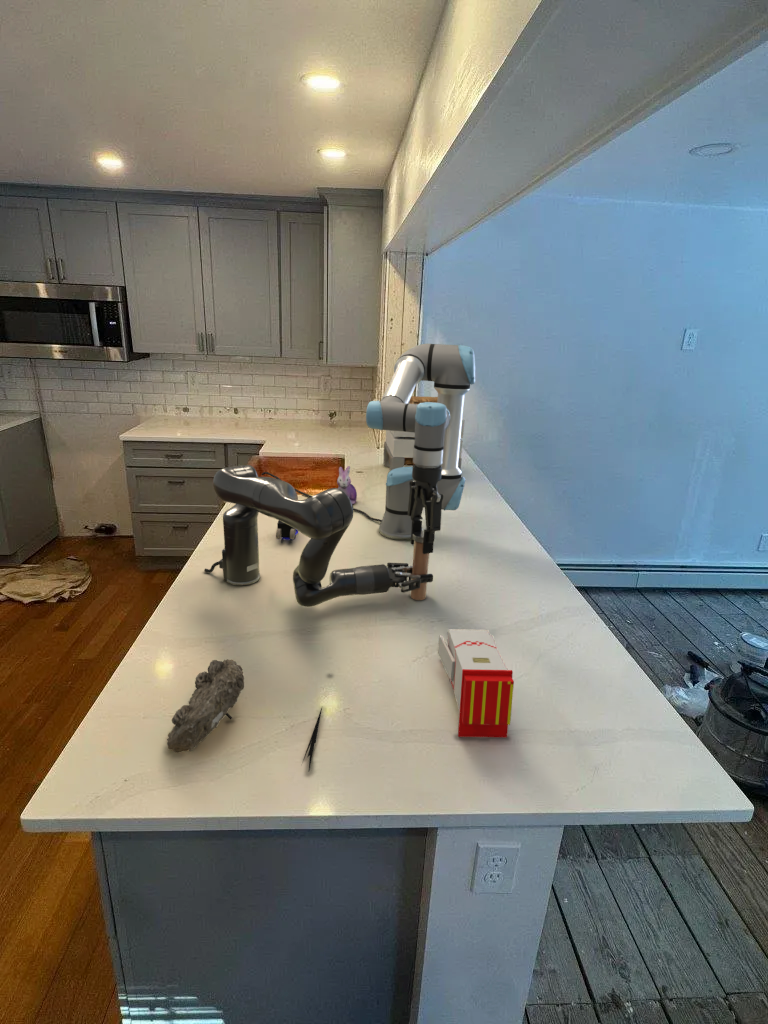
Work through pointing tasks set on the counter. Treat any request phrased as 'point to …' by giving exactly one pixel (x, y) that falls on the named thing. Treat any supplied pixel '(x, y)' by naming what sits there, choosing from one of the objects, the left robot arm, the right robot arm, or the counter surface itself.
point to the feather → (313, 740)
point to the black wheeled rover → (285, 532)
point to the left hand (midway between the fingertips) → (428, 573)
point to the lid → (418, 536)
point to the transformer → (407, 442)
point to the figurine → (346, 484)
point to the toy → (478, 682)
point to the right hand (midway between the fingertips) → (421, 547)
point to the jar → (419, 570)
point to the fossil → (206, 705)
